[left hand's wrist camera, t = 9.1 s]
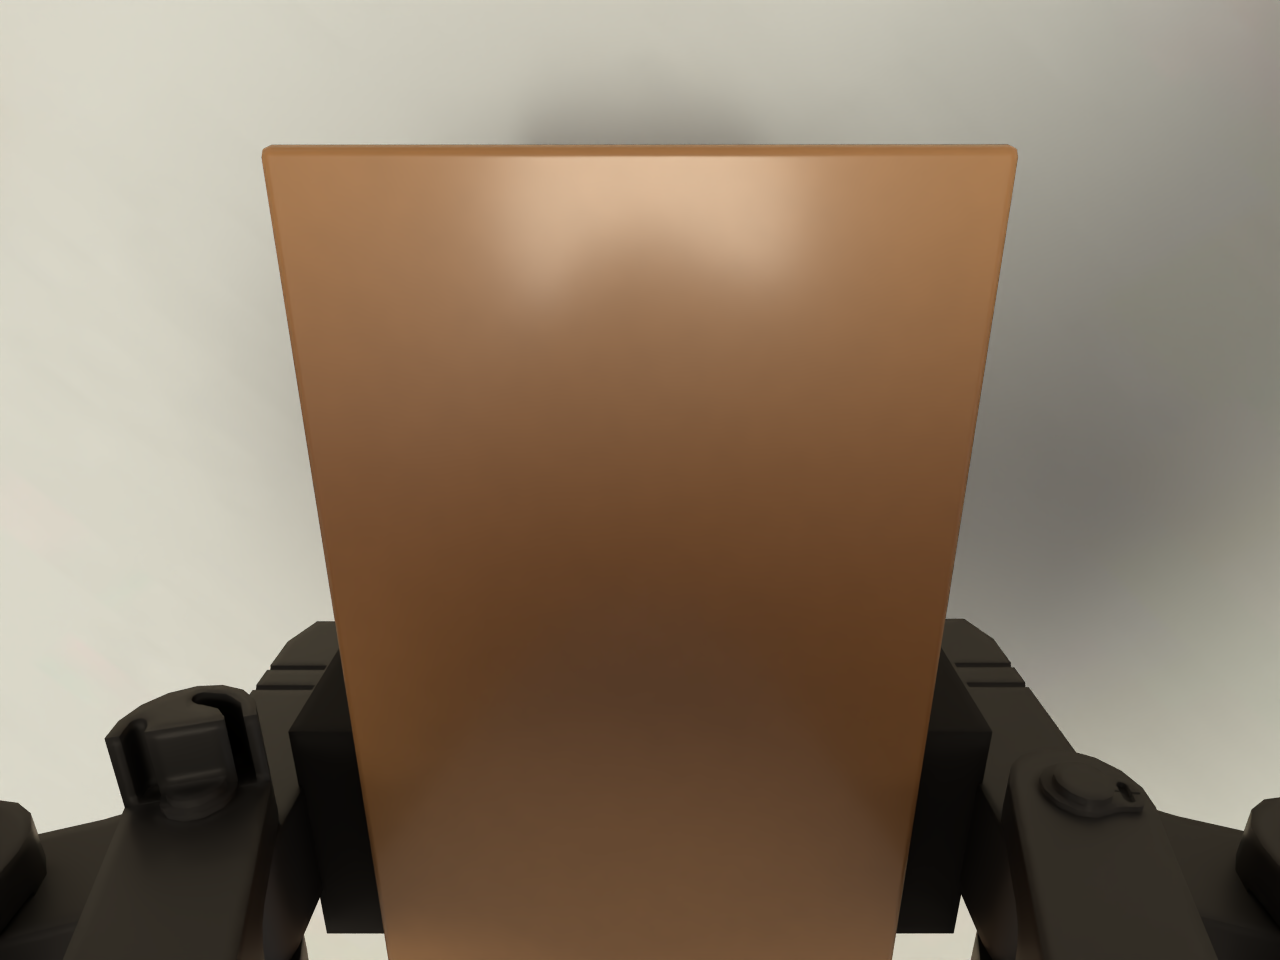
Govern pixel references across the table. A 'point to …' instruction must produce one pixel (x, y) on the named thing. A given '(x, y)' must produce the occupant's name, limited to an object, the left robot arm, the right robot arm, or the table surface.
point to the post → (639, 524)
